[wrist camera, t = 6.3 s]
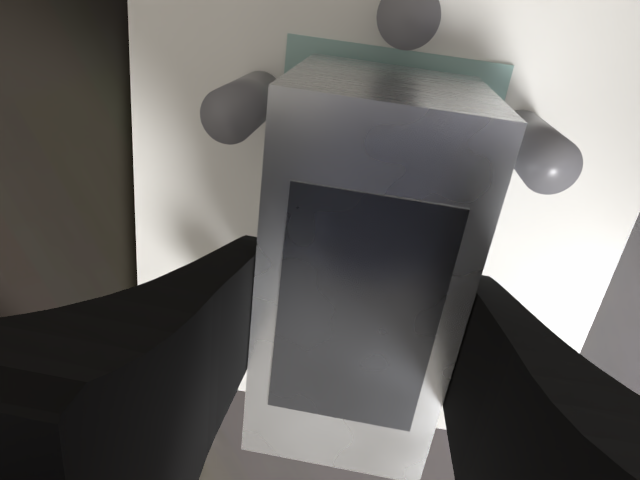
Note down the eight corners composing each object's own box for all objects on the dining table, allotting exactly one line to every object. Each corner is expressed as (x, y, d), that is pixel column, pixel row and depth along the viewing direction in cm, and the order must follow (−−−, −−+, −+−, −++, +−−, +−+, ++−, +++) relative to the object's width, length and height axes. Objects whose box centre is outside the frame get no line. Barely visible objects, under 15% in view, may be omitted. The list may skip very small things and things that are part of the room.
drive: (478, 76, 12) (528, 124, 8) (411, 345, 16) (419, 486, 11) (313, 53, 12) (267, 84, 8) (284, 322, 16) (240, 451, 11)
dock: (709, -11, 12) (841, -17, 9) (532, 425, 18) (566, 529, 15) (142, -84, 13) (47, -118, 10) (152, 354, 19) (96, 435, 16)
